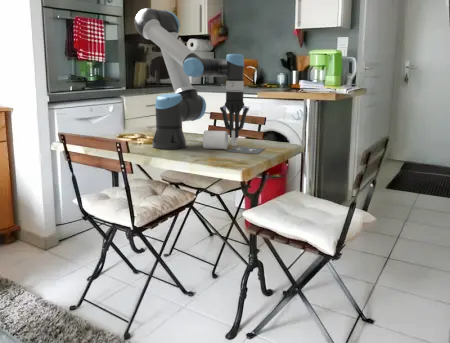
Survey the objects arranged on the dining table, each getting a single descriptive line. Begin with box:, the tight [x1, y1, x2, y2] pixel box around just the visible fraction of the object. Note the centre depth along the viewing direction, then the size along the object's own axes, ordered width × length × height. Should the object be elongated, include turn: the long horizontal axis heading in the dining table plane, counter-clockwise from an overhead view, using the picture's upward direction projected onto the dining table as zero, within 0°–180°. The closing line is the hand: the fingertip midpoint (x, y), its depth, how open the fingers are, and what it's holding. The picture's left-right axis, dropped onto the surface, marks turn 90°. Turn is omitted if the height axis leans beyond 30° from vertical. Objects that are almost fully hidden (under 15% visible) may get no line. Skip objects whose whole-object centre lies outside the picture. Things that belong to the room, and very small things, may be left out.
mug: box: [202, 130, 230, 150], centre depth 200 cm, size 12×10×8 cm
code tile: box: [225, 145, 266, 155], centre depth 196 cm, size 14×14×1 cm
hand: (233, 145), depth 198 cm, fingers closed
